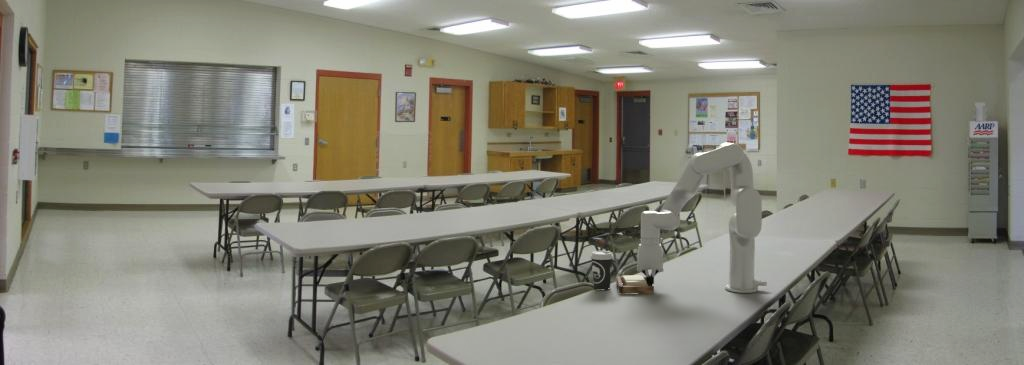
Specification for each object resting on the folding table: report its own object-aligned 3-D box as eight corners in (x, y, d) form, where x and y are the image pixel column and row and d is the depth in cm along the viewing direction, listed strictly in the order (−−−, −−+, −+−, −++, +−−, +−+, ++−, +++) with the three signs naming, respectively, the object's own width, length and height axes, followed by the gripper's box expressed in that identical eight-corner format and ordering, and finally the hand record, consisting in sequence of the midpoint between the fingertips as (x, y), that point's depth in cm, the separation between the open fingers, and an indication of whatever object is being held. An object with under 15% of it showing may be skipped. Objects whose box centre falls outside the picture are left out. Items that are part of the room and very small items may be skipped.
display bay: (648, 283, 278) (648, 276, 278) (653, 294, 260) (653, 286, 260) (616, 283, 279) (616, 276, 279) (619, 294, 261) (619, 286, 261)
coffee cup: (613, 291, 265) (613, 255, 264) (589, 290, 267) (589, 254, 266) (614, 286, 274) (614, 250, 273) (591, 285, 276) (591, 250, 275)
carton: (641, 285, 276) (641, 274, 275) (646, 293, 264) (646, 281, 263) (622, 285, 276) (622, 275, 275) (626, 293, 264) (626, 281, 263)
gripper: (667, 240, 270) (667, 283, 272) (630, 239, 272) (630, 283, 273) (670, 243, 263) (669, 288, 264) (632, 243, 264) (632, 287, 266)
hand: (649, 285), depth 269 cm, fingers closed
